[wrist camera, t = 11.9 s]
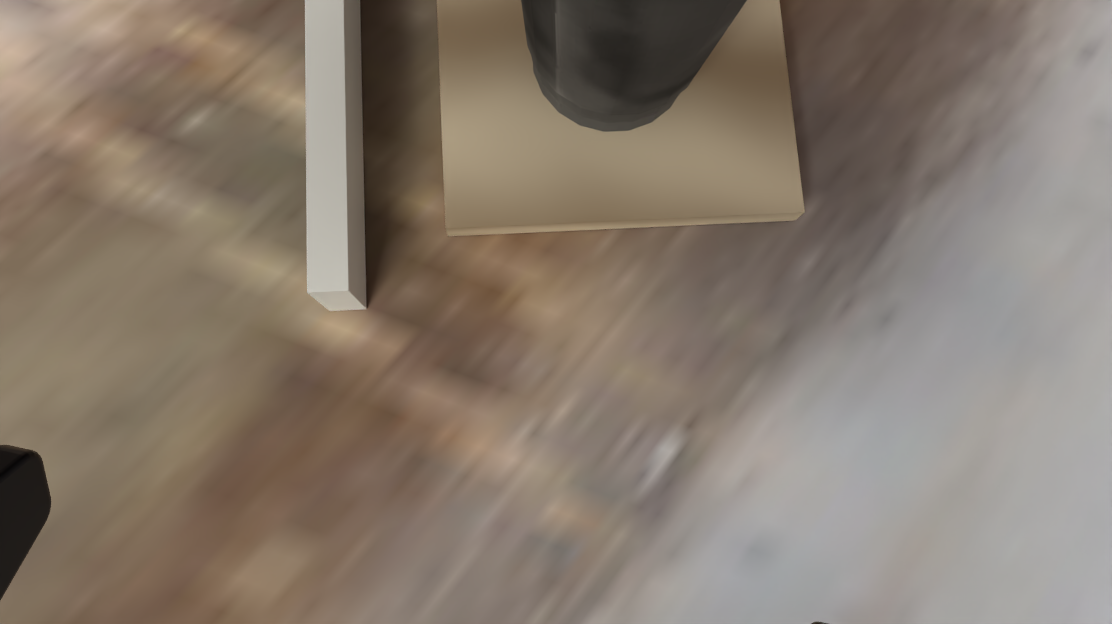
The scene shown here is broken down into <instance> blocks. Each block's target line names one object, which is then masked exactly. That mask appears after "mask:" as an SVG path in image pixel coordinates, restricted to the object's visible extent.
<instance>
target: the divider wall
mask: <svg viewBox="0 0 1112 624" xmlns="http://www.w3.org/2000/svg"><path fill="white" fill-rule="evenodd" d="M305 73H306V204H307V293H308V294H309V295H311V296H312V297H313V298H314V299H316V300H317V301H318V302H319V303H321V304H322V305H323V306H324V307H325V308H327V309H328V310H329V311H341V310H360V309H366V260H365V212H364V164H363V115H362V67H361V18H360V0H305Z"/></svg>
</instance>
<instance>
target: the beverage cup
mask: <svg viewBox="0 0 1112 624" xmlns="http://www.w3.org/2000/svg"><path fill="white" fill-rule="evenodd" d="M746 1H747V0H521V3H522V11H523V18H524V25H525V33H526V40H527V46H528V49H529V51H530V54H531V57H532V61H533V72H534V75H535V77H536V79H537V82H538V84H539V87H540V89H541V91H542V94H543V95H544V96H545V97H546V99H547V100H548V101H549V102H550V103H551V104H552V105H553V107H554V108H555V109H556V110H557V111H558V112H559V113H560V114H562V115H564V116H565V117H567V118H568V119H570V120H572V121H573V122H575V123H576V124H578V125H580V126H584V127H588V128H591V129H595V130H599V131H603V132H610V131H629V130H632V129H635V128H638V127H641V126H643V125H646V124H649V123H652V122H653V121H654V120H655V119H657V118H658V117H659V116H661V115H662V114H663V113H664V112H666V111H667V110H668V109H670V108H671V106H672V105H673V103H674V101H675V100H676V98H677V97H678V96H679V94H680V93H681V92H682V91H684V90H685V89H686V88H687V87H688V86H689V84H690V83H691V81H692V80H693V78H694V77H695V76H696V74H697V73H698V71H699V70H700V68H701V67H702V65H703V64H704V62H705V61H706V59H707V58H708V57H709V55H710V54H711V52H712V51H713V49H714V48H715V46H716V45H717V43H718V42H719V40H720V39H721V38H722V36H723V35H724V33H725V32H726V30H727V29H728V27H729V26H730V24H731V23H732V22H733V20H734V19H735V17H736V16H737V14H738V13H739V11H740V10H741V8H742V7H743V5H744V4H745V3H746Z"/></svg>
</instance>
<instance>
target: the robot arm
mask: <svg viewBox="0 0 1112 624" xmlns="http://www.w3.org/2000/svg"><path fill="white" fill-rule="evenodd" d="M50 508H51V496H50V492H49V487H48V483H47V479H46V474H45V470H44V465H43V461H42V458H41V456H40V455H39V454H38V453H37V452H35V451H33V450H29V449H24V448H19V447H15V446H10V445H0V600H1V599H2V597H3V595H4V593H5V592H6V590H7V588H8V586H9V585H10V583H11V581H12V579H13V578H14V576H15V574H16V573H17V571H18V569H19V567H20V566H21V564H22V562H23V560H24V559H25V557H26V555H27V554H28V552H29V550H30V548H31V547H32V545H33V543H34V541H35V540H36V538H37V536H38V535H39V533H40V531H41V529H42V528H43V526H44V524H45V522H46V520H47V518H48V515H49V513H50ZM812 624H828V623H823V622H813V623H812Z"/></svg>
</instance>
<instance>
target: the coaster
mask: <svg viewBox="0 0 1112 624" xmlns="http://www.w3.org/2000/svg"><path fill="white" fill-rule="evenodd" d="M437 21H438V47H439V73H440V99H441V125H442V151H443V176H444V202H445V228H446V232H447V235H448V236H466V235H488V234H510V233H532V232H554V231H576V230H598V229H620V228H642V227H664V226H686V225H707V224H729V223H751V222H773V221H795V220H796V219H797V218H799V217H800V216H801V215H802V214H803V213H804V212H805V211H804V202H803V194H802V185H801V177H800V169H799V160H798V152H797V144H796V135H795V127H794V118H793V110H792V102H791V93H790V85H789V77H788V68H787V60H786V51H785V43H784V35H783V26H782V18H781V10H780V1H779V0H747V1H746V3H745V4H744V5H743V7H742V8H741V10H740V11H739V13H738V14H737V16H736V17H735V19H734V20H733V22H732V23H731V24H730V26H729V27H728V29H727V30H726V32H725V33H724V35H723V36H722V38H721V39H720V40H719V42H718V43H717V45H716V46H715V48H714V49H713V51H712V52H711V54H710V55H709V57H708V58H707V59H706V61H705V62H704V64H703V65H702V67H701V68H700V70H699V71H698V73H697V74H696V76H695V77H694V78H693V80H692V81H691V83H690V84H689V86H688V87H687V88H686V89H685V90H684V91H682V92H681V93H680V94H679V96H678V97H677V98H676V100H675V101H674V103H673V105H672V106H671V108H670V109H668V110H667V111H666V112H664V113H663V114H662V115H661V116H659V117H658V118H657V119H655V120H654V121H653V122H652V123H649V124H646V125H643V126H641V127H638V128H635V129H632V130H629V131H610V132H603V131H599V130H595V129H591V128H588V127H584V126H580V125H578V124H576V123H575V122H573V121H572V120H570V119H568V118H567V117H565V116H564V115H562V114H560V113H559V112H558V111H557V110H556V109H555V108H554V107H553V105H552V104H551V103H550V102H549V101H548V100H547V99H546V97H545V96H544V95H543V94H542V91H541V89H540V87H539V84H538V82H537V79H536V77H535V75H534V72H533V61H532V57H531V54H530V51H529V49H528V46H527V40H526V33H525V25H524V18H523V11H522V3H521V0H437Z"/></svg>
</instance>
